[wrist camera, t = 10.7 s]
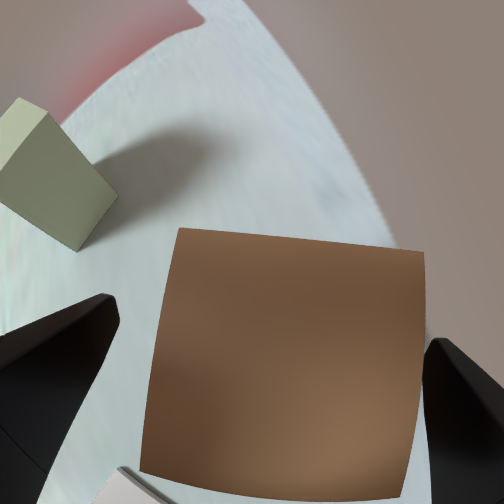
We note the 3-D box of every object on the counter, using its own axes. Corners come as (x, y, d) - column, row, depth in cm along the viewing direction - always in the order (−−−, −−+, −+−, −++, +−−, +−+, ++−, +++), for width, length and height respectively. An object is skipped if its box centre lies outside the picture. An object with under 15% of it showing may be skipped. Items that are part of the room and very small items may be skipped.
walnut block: (327, 423, 14) (399, 497, 4) (220, 411, 14) (139, 471, 5) (339, 319, 16) (423, 252, 6) (234, 308, 16) (178, 227, 7)
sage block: (118, 195, 22) (48, 112, 13) (76, 252, 21) (-14, 191, 12) (82, 170, 24) (19, 97, 14) (44, 220, 22) (-32, 161, 13)
